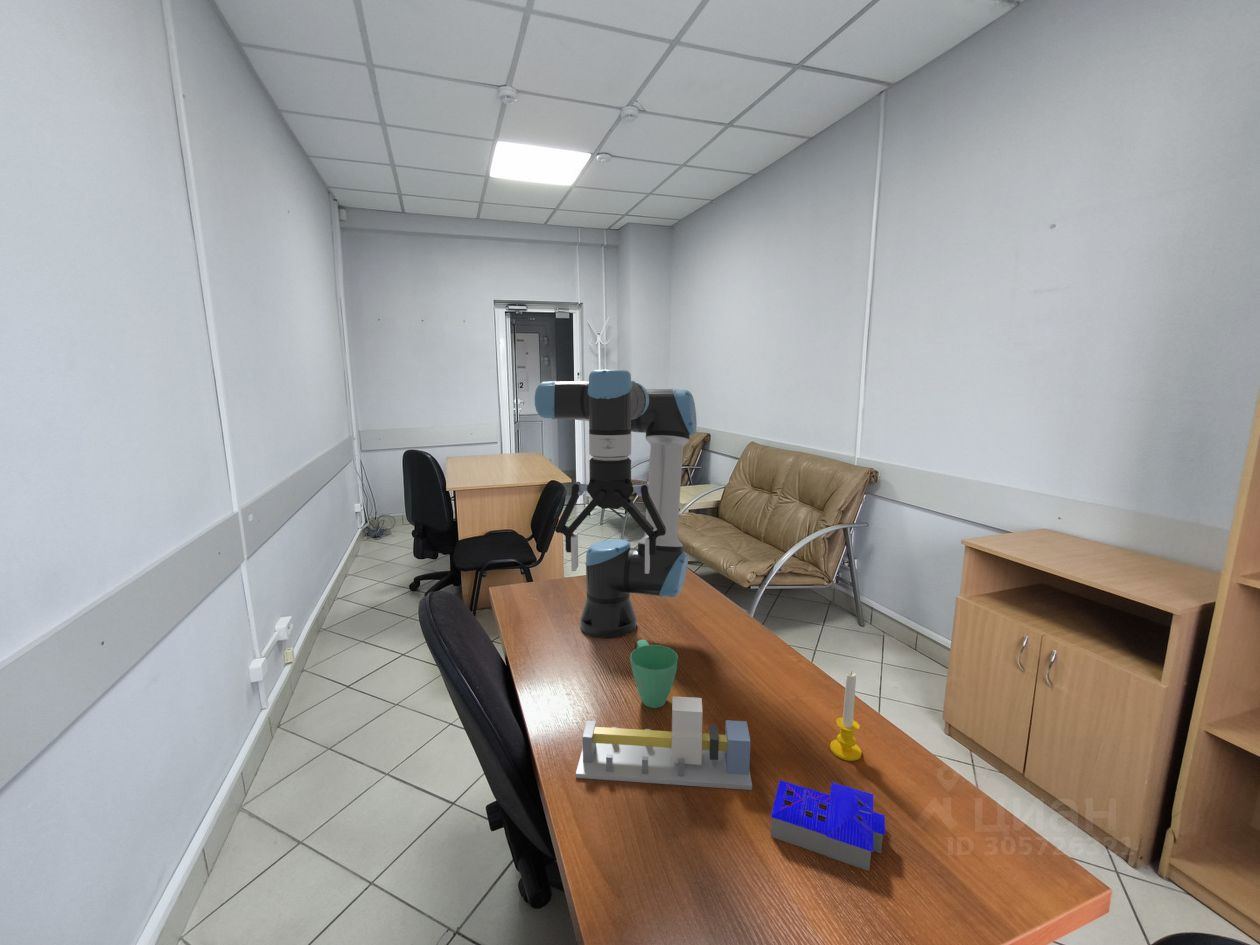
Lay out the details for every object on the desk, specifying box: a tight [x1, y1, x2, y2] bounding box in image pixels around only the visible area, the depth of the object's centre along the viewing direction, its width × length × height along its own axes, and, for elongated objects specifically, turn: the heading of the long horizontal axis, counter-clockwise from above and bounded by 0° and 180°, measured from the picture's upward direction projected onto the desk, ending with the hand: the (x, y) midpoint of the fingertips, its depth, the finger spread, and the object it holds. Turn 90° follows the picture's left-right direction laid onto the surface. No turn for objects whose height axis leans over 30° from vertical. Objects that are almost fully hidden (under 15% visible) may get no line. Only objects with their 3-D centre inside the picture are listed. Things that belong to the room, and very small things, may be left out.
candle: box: [829, 670, 863, 762], centre depth 94 cm, size 5×5×16 cm
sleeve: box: [671, 695, 703, 765], centre depth 91 cm, size 5×5×9 cm
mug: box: [629, 639, 679, 709], centre depth 111 cm, size 15×10×10 cm
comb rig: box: [575, 719, 753, 791], centre depth 91 cm, size 29×10×7 cm, turn 85°
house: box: [770, 779, 886, 872], centre depth 78 cm, size 11×15×5 cm
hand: (610, 570), depth 99 cm, fingers open, 13 cm apart
